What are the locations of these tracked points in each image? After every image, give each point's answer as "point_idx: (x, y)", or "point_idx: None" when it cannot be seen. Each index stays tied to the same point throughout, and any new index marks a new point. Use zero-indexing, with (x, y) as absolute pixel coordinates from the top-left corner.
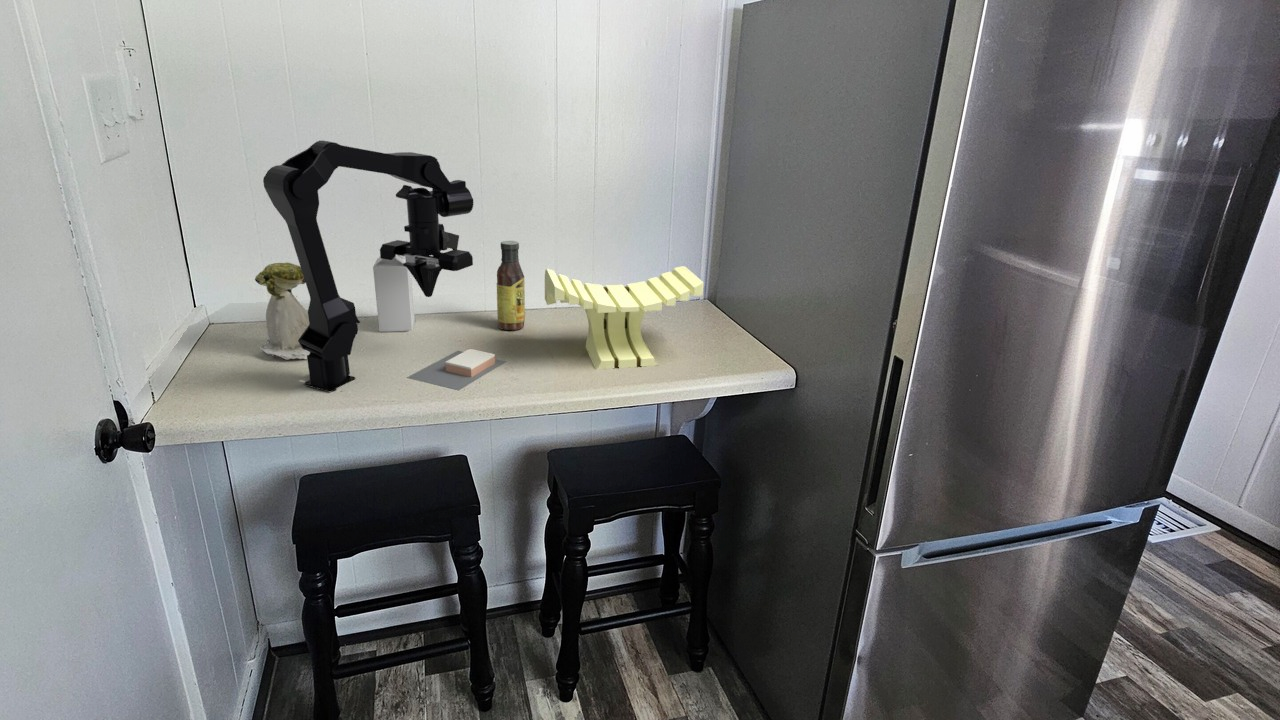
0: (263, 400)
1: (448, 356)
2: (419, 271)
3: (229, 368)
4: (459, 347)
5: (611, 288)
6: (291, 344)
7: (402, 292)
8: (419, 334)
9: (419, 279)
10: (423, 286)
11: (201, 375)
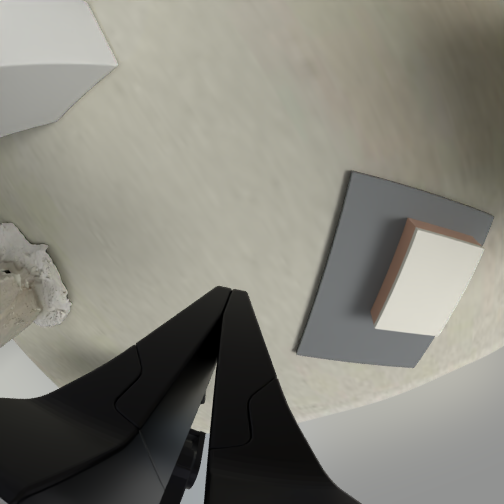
0: None
1: (343, 225)
2: (154, 501)
3: (40, 344)
4: (337, 126)
5: None
6: (36, 315)
7: (4, 85)
8: (149, 71)
9: (177, 452)
10: (203, 392)
11: (42, 361)
